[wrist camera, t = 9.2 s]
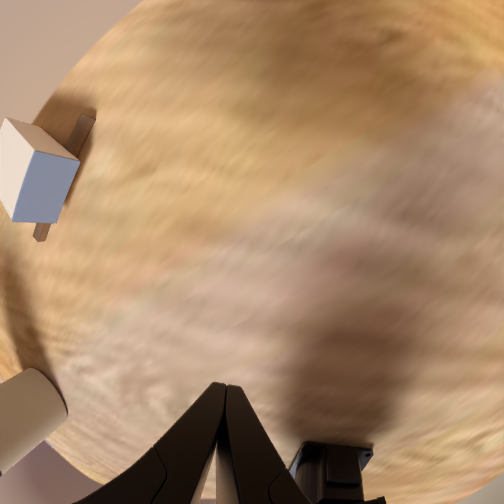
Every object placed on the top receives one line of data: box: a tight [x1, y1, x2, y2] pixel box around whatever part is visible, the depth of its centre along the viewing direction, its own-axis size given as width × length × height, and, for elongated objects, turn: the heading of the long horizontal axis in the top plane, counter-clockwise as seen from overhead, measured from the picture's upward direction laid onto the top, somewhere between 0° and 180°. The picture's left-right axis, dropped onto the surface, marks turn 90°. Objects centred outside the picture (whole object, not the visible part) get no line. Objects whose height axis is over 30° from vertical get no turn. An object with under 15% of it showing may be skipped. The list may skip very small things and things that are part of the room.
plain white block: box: [0, 117, 81, 223], centre depth 18 cm, size 4×6×10 cm
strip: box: [33, 114, 95, 242], centre depth 20 cm, size 1×12×1 cm, turn 147°
